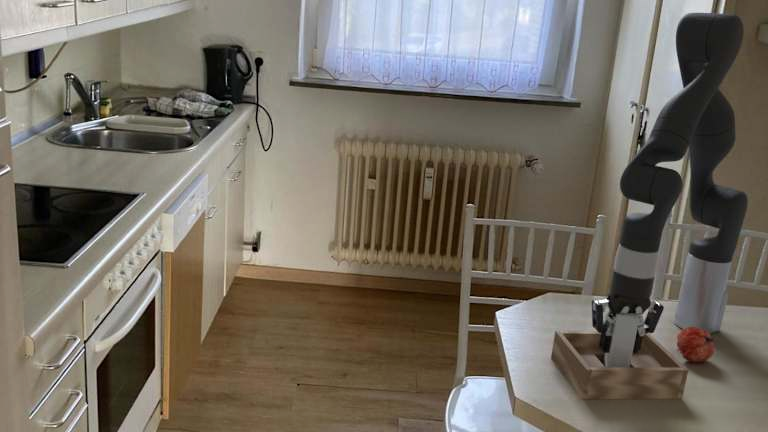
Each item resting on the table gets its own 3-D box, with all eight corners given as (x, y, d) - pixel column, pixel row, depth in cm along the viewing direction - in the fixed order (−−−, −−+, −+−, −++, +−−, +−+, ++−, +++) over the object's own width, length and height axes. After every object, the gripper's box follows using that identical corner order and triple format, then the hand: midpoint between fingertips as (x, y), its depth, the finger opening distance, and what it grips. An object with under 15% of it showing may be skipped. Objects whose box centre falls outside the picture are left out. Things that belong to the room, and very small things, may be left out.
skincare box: (628, 376, 148) (640, 318, 144) (605, 372, 149) (616, 315, 145) (625, 362, 154) (636, 306, 150) (603, 358, 154) (613, 303, 151)
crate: (642, 358, 161) (647, 332, 159) (682, 398, 146) (688, 370, 144) (550, 357, 158) (555, 331, 156) (581, 399, 143) (587, 369, 141)
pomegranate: (666, 365, 164) (699, 357, 155) (661, 331, 166) (693, 321, 158) (694, 367, 166) (728, 358, 158) (689, 333, 169) (722, 323, 160)
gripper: (660, 263, 150) (644, 342, 155) (590, 261, 148) (576, 342, 153) (680, 277, 143) (662, 360, 148) (607, 276, 141) (591, 360, 145)
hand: (618, 350), depth 150 cm, fingers closed on skincare box, 5 cm apart
